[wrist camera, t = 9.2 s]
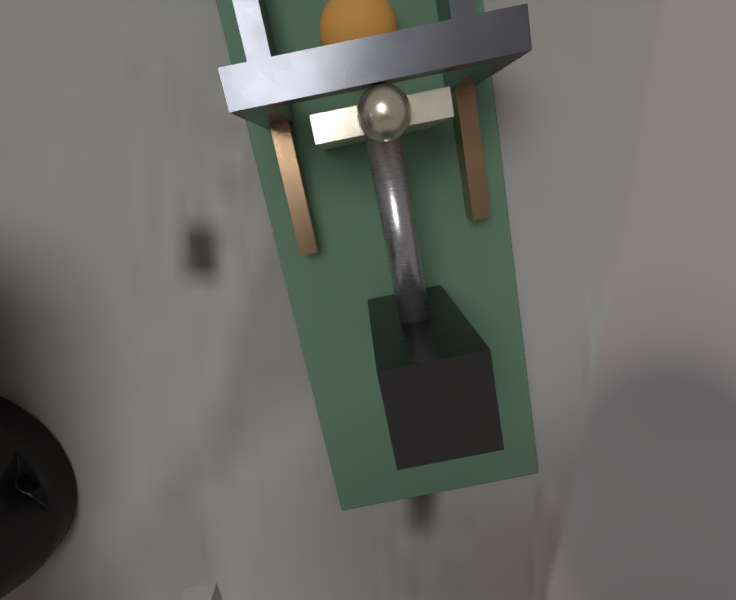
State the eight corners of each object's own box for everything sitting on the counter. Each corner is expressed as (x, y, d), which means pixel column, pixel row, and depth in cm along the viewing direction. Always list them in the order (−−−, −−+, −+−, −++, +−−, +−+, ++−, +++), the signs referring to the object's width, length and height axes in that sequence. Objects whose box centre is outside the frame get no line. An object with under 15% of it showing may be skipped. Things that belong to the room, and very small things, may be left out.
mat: (536, 469, 35) (538, 472, 34) (342, 506, 35) (342, 510, 35) (467, -107, 25) (469, -111, 25) (204, -51, 26) (202, -54, 25)
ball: (294, 4, 23) (311, 70, 27) (359, 42, 22) (367, 105, 26) (349, -47, 24) (358, 24, 28) (414, -13, 23) (414, 56, 27)
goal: (489, 212, 29) (549, 232, 21) (296, 251, 30) (274, 288, 21) (447, -112, 25) (501, -266, 16) (221, -64, 25) (152, -190, 16)
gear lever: (462, 350, 31) (520, 446, 21) (370, 369, 31) (380, 473, 21) (423, 97, 27) (470, 52, 17) (317, 118, 27) (296, 88, 17)
